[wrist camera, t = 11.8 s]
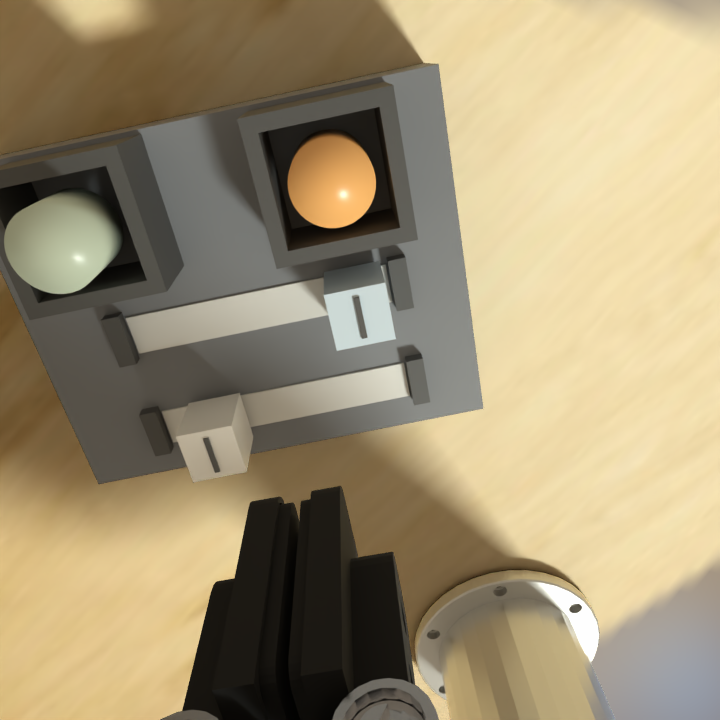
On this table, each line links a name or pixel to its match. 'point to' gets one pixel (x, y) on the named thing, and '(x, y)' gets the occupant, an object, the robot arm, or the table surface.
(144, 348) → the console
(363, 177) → the button orange
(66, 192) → the button green
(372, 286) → the slider blue
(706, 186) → the table surface
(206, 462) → the slider white
